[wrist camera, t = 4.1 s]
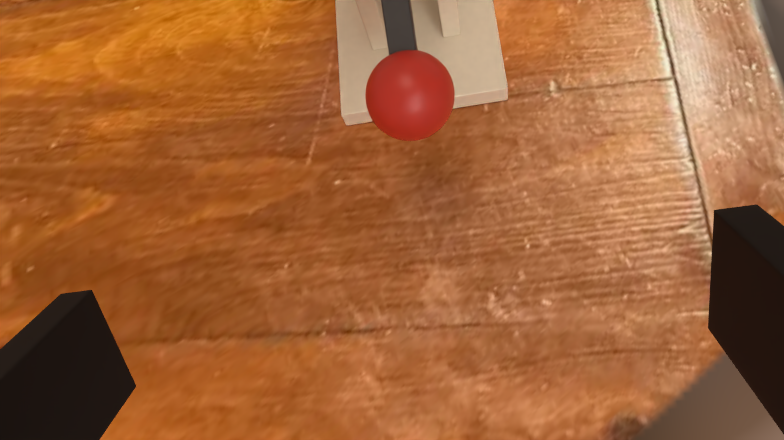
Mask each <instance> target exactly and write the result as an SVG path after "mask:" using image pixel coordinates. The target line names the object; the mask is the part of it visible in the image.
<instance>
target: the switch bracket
mask: <svg viewBox="0 0 784 440" xmlns="http://www.w3.org/2000/svg"><path fill="white" fill-rule="evenodd" d="M335 4H336V24H337V44H338V63H339V83H340V102H341V116H342V118H343V120H344V121H345V123H346V125H354V124H360V123H366V122H372V121H373V120H372V119H371V117H370V115H369V112H368V109H367V105H366V98H365V93H366V85H367V82H368V79H369V76H370V74H371V72H372V71H373V69H374V68H375V67H376V65H377V64H378V63H379V62H380V61H381V60H382V59H384V58H385V57H386V56H388V55H389V51H388V45H387V38H386V31H385V25H384V18H383V11H382V4H381V0H335ZM411 6H412V13H413V20H414V27H415V34H416V41H417V48H418V50H420V51H423V52H426V53H429V54H431V55H432V56H434V57H436V58H437V59H438V60H439V61H440V62H441V63H442V64H443V65H444V66H445V67H446V69H447V70H448V72H449V74H450V76H451V78H452V81H453V84H454V91H455V99H454V105H453V108H460V107H466V106H472V105H478V104H484V103H491V102H497V101H503V100H507V99H508V86H507V80H506V74H505V68H504V62H503V56H502V51H501V45H500V39H499V33H498V27H497V21H496V15H495V9H494V4H493V0H411Z"/></svg>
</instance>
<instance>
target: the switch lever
mask: <svg viewBox="0 0 784 440" xmlns="http://www.w3.org/2000/svg"><path fill="white" fill-rule="evenodd" d="M381 4H382V11H383V18H384V25H385V31H386V38H387V45H388V51H389V55H388V56H386V57H385V58H384V59H382V60H381V61H380V62H379V63H378V64H377V65H376V67H375V68H374V69H373V71H372V72H371V74H370V76H369V79H368V82H367V85H366V93H365V98H366V105H367V109H368V112H369V115H370V117H371V119H372V120H373V122H374V123H375V124H376V125H377V127H378V128H379V129H381V130H382V131H383V132H384V133H386V134H387V135H389V136H391V137H393V138H396V139H399V140H405V141H415V140H420V139H424V138H426V137H429V136H431V135H432V134H434V133H435V132H437V131H438V130H439V129H440V128H441V127H442V126H443V125H444V124H445V123H446V121H447V120H448V118H449V116H450V114H451V112H452V109H453V105H454V99H455V91H454V84H453V81H452V78H451V76H450V74H449V72H448V70H447V69H446V67H445V66H444V65H443V64H442V63H441V62H440V61H439V60H438V59H437V58H436V57H434V56H432V55H431V54H429V53H426V52H423V51H420V50H418V48H417V41H416V34H415V27H414V20H413V13H412V6H411V0H381Z"/></svg>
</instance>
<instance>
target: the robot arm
mask: <svg viewBox="0 0 784 440" xmlns="http://www.w3.org/2000/svg"><path fill="white" fill-rule="evenodd" d="M708 329H709V330H710V331H711V333H712V334H713V336H714V337H715V338H716V340H717V341H718V343H719V344H720V345H721V347H722V348H723V350H724V351H725V352H726V354H727V355H728V357H729V358H730V359H731V360H732V362H733V364H734V365H735V366H736V368H737V369H738V371H739V372H740V374H741V375H742V376H743V378H744V379H745V381H746V382H747V383H748V385H749V386H750V387H751V389H752V390H753V392H754V393H755V394H756V396H757V397H758V399H759V400H760V402H761V403H762V404H763V406H764V407H765V409H766V410H767V411H768V413H769V414H770V416H771V417H772V418H773V420H774V421H775V423H776V424H777V425H778V427H779V428H780V430H781V431H782V432H783V434H784V226H783V225H782V224H781V223H779V222H778V221H777V220H776V219H774V218H773V217H772V216H771V215H769V214H768V213H767V212H766V211H764V210H763V209H762V208H761V207H759V206H758V205H750V206H742V207H734V208H727V209H719V210H714V224H713V244H712V263H711V282H710V301H709V321H708ZM135 387H136V385H135V382H134V380H133V378H132V376H131V374H130V372H129V369H128V367H127V365H126V363H125V361H124V359H123V357H122V354H121V352H120V350H119V348H118V346H117V344H116V341H115V339H114V337H113V335H112V333H111V331H110V328H109V326H108V324H107V322H106V320H105V318H104V315H103V313H102V311H101V309H100V307H99V305H98V302H97V300H96V298H95V296H94V294H93V292H92V290H88V291H80V292H72V293H64V294H60V295H59V296H58V297H57V298H56V299H55V300H54V301H53V302H52V303H50V304H49V305H48V306H47V307H46V308H45V309H44V310H43V311H42V312H41V313H40V314H38V315H37V316H36V317H35V318H34V319H33V320H32V321H31V322H30V323H29V324H28V325H26V326H25V327H24V328H23V329H22V330H21V331H20V332H19V333H18V334H17V335H16V336H14V337H13V338H12V339H11V340H10V341H9V342H8V343H7V344H6V345H5V346H4V347H2V348H1V349H0V440H99V439H100V438H101V437H102V435H103V434H104V432H105V431H106V429H107V428H108V426H109V425H110V423H111V422H112V421H113V419H114V418H115V416H116V415H117V413H118V412H119V410H120V409H121V407H122V406H123V405H124V403H125V402H126V400H127V399H128V397H129V396H130V394H131V393H132V391H133V390H134V389H135Z"/></svg>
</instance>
